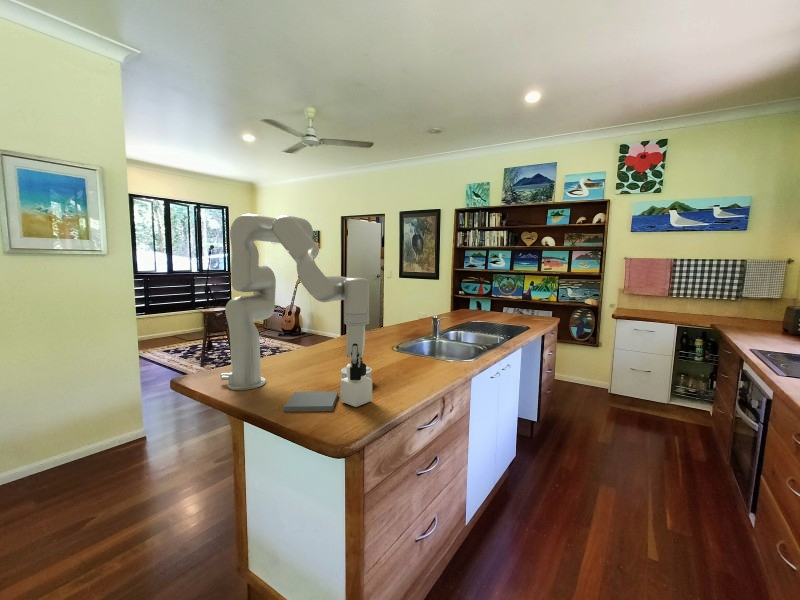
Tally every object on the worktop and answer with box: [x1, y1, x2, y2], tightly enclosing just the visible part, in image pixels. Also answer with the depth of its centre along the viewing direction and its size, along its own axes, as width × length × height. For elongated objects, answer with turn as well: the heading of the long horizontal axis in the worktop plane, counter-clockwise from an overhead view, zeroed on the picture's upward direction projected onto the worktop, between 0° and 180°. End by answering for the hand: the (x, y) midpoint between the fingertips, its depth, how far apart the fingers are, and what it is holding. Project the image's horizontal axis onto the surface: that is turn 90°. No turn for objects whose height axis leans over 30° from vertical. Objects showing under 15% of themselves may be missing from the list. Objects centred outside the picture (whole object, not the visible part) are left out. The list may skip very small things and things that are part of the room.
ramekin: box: [340, 365, 373, 379], centre depth 128 cm, size 11×11×5 cm
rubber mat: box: [283, 390, 339, 413], centre depth 110 cm, size 14×12×2 cm
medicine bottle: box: [339, 362, 373, 408], centre depth 110 cm, size 7×7×12 cm
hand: (356, 375), depth 110 cm, fingers closed on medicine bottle, 6 cm apart
